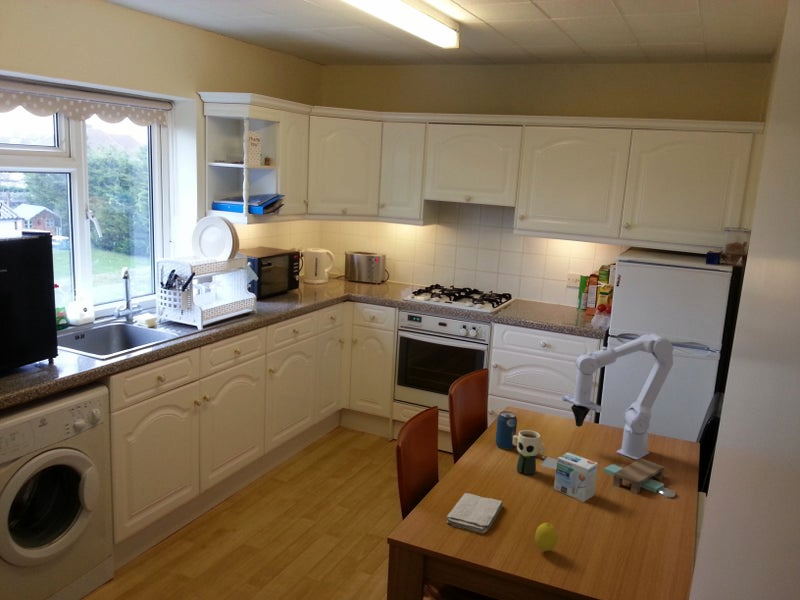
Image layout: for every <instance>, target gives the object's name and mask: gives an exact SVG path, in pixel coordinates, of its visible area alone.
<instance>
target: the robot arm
mask: <svg viewBox="0 0 800 600" xmlns="http://www.w3.org/2000/svg"><path fill="white" fill-rule="evenodd" d="M674 349H675V348H674V346H673V345H672V343H671V341H670V340H669V339H667V338H665V337H664V336H662V335H661V334H659V333H658V332H656V331H651V332H648V333H647V334H643V335H641V336H639V337H637V338H634V339H633V340H630V341H628V342H625V343H624V344H621V345H619V346H617V347H614V348H612V347H609V346H607V347H606V346H602V347H601V349H599V350H597V351H594V352H592V351H591V352H588V354H581V355H579V356H578V357H577V359H576V360H575V366H576V367H577V369H576V375H575V376H576V377H575V384H574V393H573V395H568V394H564V395H562V398H561V401H562V402H567V403H570V404H572V406H571V407H570V408H571V410H572V413H573V416H574V421H575V426H576V427H579V428H580V427H582V426H583V424H584V421H585V420H586V417H587V415H588V414H589V413H590V411H591V410H592V411H595V412H596V413H601V412H602V411H603V409H602V408H603V406H601V405H599V404H597V403H596V402H594V401H591V399H592V390H593V383H594V373H596V371H597V370H598V369H601V368H603V367H606V366H609V365H612V364H614V363H616V361H617V359H618V358H621V357H623V356H627V355H631V354H634V353H637V352H645V353H648V354H651V355H652V358H653V359H654V361H655V363H654V365H653V367H652V369H651V370H650V372H649V375H648V377H647V379H646V381H645V383H644V385H643V387H642V389H641V391H640V393H639V395H638V397H637V399H636V401H634V402H631V405H630V407H628V408H627V409H626V410H625V411H624V413H623V415H622V419H623V421H624V423H625V425H624V428H623V435H622V442H621V448H620V449H618V450H616V454H620V455H622V456H625V457H627V458H631V459H633V460H635V461H637V460H639V459H641V458H642V459H643V457H645V456H647V455H649V454H650V452H649V451H648V444H649V437H650V436H649V433H648V430H649V428H650V420H651V418H652V407H653V405H654V403H655V401H656V399H657V397H658V395H659V394H660V391H661V389H662V388H663V385H664V383H665V381H666V380H667V377H668V375H669V374H670V371H671V370H672V367H673V366H674V365H673V364H674V356H673V355H674V354H673V351H674Z"/></svg>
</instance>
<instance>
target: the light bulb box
mask: <svg viewBox="0 0 800 600" xmlns="http://www.w3.org/2000/svg"><path fill="white" fill-rule="evenodd" d="M556 460H557V467H556V470H555V476H554V485H553V490H554V491H557V492H559V493H562V494H564V495H567V496H569V497H570V498H573V499H576V500H578V501H580V502H583V503H585V502H586V501H588V500H589V499H591V498H592V497H594V496H595V491H596V490H595V489H596V483H597V476H598V468H599V463H598V462H597V461H593V460H590V459H588V458H585V457H582V456H579V455H577V454H574V453H572V452H571V453H570V452H565V453H564V454H562V455H561V456H559V457H557V458H556Z"/></svg>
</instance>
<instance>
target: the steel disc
mask: <svg viewBox="0 0 800 600" xmlns="http://www.w3.org/2000/svg"><path fill="white" fill-rule="evenodd" d="M657 493H659V494H658V495H659V496H661V497H663V496H664V497H663V498H666V497H667V499H673V497H674V498H675V497H676V491H675V490H673V489H671V488H669V487H664V488H659V489H658V492H657Z"/></svg>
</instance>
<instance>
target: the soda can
mask: <svg viewBox="0 0 800 600" xmlns="http://www.w3.org/2000/svg"><path fill="white" fill-rule="evenodd" d="M496 422H497V423H496V430H495V431H496V432H495V445H496V446H497V447H498V448H499V447H500V448H499V449H502V450H512V449H513V448H514V446H515V445H513V436H517V425H518V424H517V423H518V419H517V414H516V413H514V412H512V411H505V410H504V411H501V412H499V414H498V416H497V419H496Z"/></svg>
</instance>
